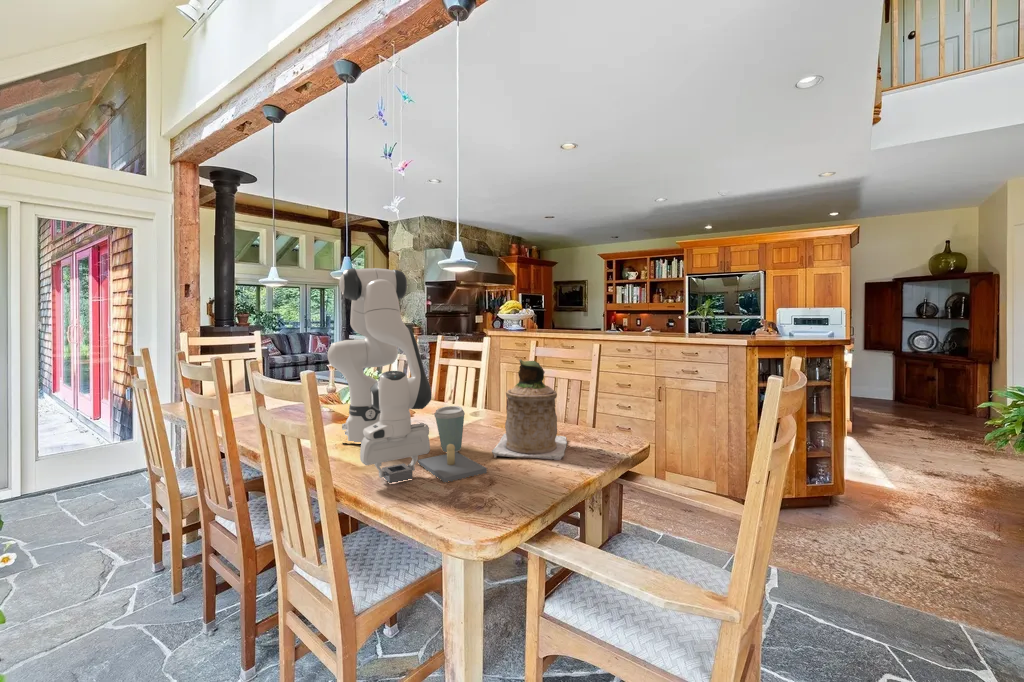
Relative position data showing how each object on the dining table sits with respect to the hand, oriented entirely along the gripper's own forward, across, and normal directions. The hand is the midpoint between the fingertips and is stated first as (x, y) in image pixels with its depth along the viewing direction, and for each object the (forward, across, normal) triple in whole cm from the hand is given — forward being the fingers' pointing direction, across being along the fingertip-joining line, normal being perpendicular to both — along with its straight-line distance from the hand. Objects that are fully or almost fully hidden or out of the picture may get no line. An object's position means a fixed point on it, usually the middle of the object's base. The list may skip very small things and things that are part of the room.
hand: (397, 473), depth 137 cm
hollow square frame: (+2, 0, 0) cm, 2 cm away
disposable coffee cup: (+2, -25, -16) cm, 30 cm away
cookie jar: (+2, -49, -1) cm, 49 cm away
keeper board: (+2, -17, +1) cm, 17 cm away
